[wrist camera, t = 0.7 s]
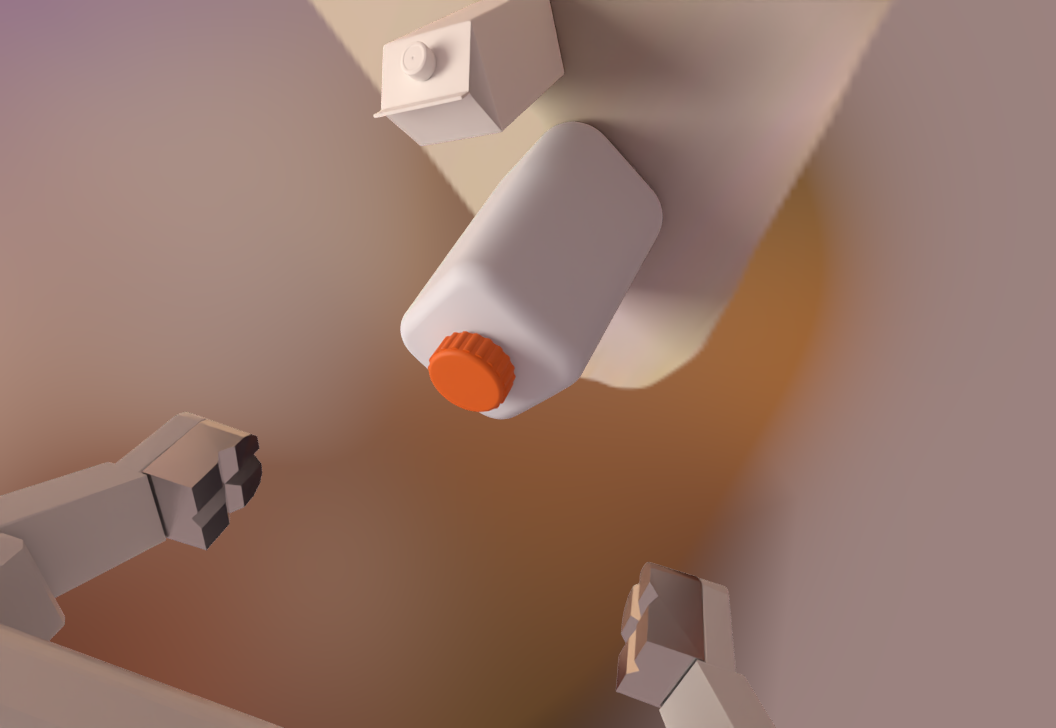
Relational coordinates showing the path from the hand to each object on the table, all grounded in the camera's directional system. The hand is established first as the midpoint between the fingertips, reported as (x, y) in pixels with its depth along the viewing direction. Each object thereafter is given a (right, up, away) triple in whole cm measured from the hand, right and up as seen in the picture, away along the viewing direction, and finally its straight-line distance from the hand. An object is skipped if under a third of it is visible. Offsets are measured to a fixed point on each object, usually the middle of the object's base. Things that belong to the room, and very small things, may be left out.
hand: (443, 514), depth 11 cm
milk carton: (+1, +32, +38) cm, 50 cm away
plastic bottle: (+7, +20, +47) cm, 51 cm away
